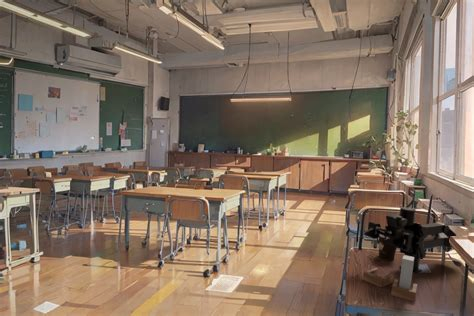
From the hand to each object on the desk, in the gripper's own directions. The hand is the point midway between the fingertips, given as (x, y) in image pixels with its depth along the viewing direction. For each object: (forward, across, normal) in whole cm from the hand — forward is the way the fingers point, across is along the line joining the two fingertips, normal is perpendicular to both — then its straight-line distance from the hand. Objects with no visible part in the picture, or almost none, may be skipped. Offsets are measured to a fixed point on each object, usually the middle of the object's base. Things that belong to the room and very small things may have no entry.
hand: (374, 237), depth 150 cm
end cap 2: (0, +15, +16) cm, 22 cm away
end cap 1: (0, +4, +16) cm, 17 cm away
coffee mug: (-28, -15, +17) cm, 36 cm away
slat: (0, +15, +16) cm, 22 cm away
